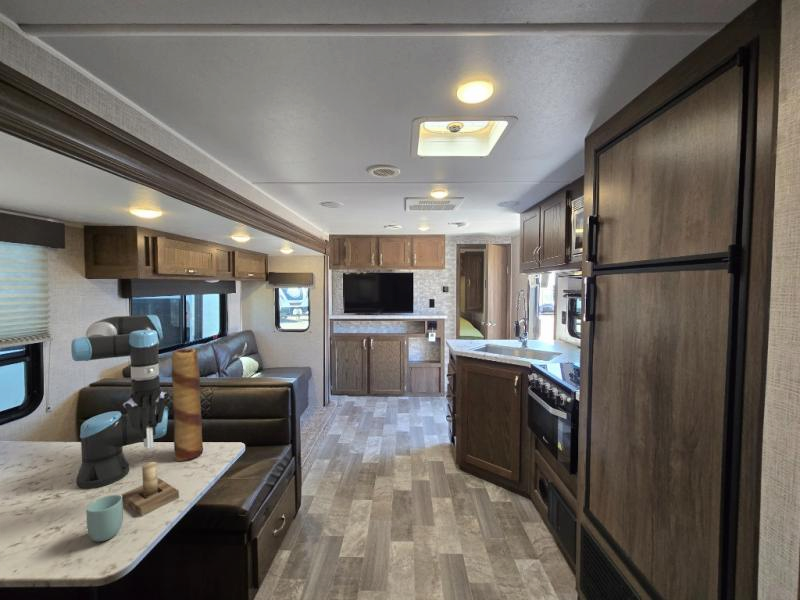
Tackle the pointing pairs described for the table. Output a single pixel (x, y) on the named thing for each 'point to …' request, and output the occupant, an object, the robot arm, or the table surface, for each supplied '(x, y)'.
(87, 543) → the table surface
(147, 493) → the peg
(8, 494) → the table surface
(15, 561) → the table surface
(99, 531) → the cup
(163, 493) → the box with square hole
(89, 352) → the robot arm
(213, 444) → the table surface
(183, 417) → the wafer roll
